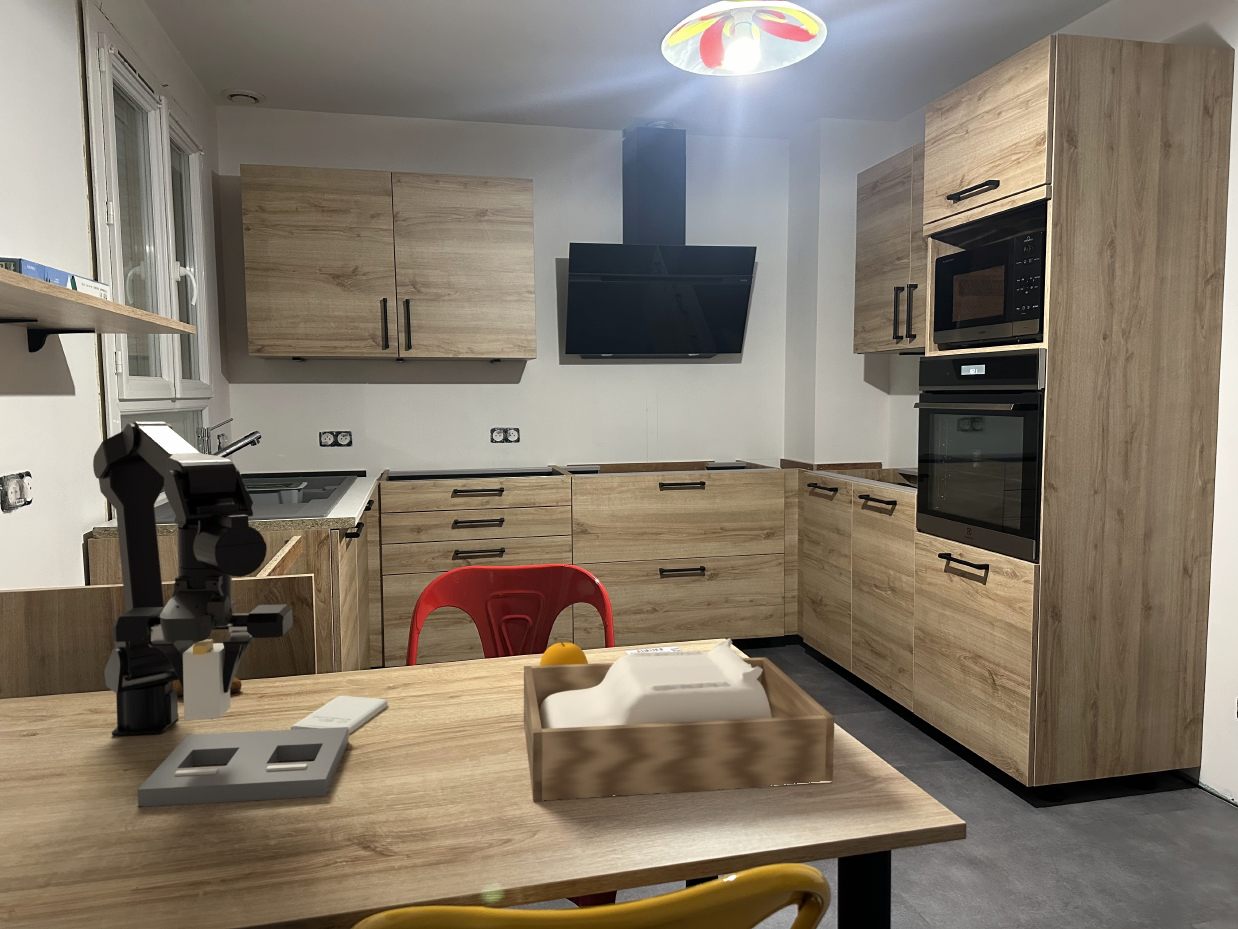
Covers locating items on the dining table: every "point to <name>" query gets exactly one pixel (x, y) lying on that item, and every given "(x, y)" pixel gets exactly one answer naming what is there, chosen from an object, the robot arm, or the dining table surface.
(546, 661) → the apple
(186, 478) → the robot arm
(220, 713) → the plug
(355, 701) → the external hard drive
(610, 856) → the dining table surface
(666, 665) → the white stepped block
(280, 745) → the panel
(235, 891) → the dining table surface
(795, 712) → the wooden crate
